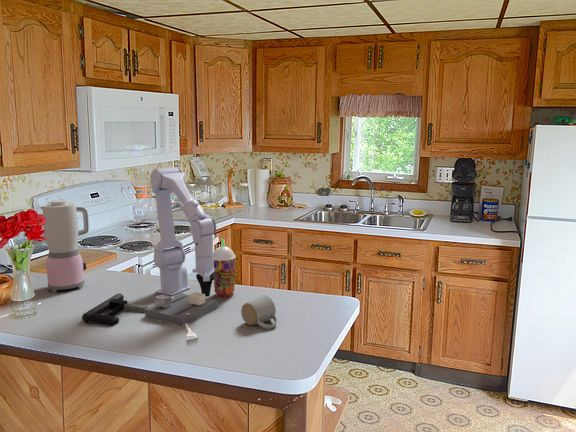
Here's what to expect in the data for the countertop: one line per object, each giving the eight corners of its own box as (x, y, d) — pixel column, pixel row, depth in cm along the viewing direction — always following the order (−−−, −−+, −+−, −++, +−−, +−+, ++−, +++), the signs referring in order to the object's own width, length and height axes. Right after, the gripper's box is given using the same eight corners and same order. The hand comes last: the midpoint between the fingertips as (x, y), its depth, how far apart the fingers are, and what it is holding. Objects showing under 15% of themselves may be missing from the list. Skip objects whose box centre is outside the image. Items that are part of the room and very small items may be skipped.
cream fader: (195, 300, 167) (195, 292, 166) (205, 302, 165) (205, 294, 164) (189, 303, 164) (189, 294, 163) (199, 305, 162) (199, 296, 162)
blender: (51, 295, 181) (42, 205, 175) (44, 286, 191) (36, 200, 185) (97, 286, 190) (90, 200, 184) (89, 278, 200) (82, 196, 194)
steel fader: (161, 302, 164) (161, 294, 164) (171, 305, 163) (170, 296, 162) (154, 305, 162) (154, 297, 161) (164, 308, 160) (164, 299, 159)
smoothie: (221, 300, 175) (219, 242, 171) (207, 294, 181) (205, 238, 177) (241, 294, 180) (240, 238, 176) (227, 289, 186) (226, 234, 182)
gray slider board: (181, 300, 175) (181, 292, 175) (217, 307, 168) (217, 300, 167) (145, 316, 161) (144, 309, 160) (182, 326, 153) (181, 317, 153)
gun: (157, 298, 171) (113, 291, 175) (124, 321, 152) (76, 313, 156) (157, 307, 172) (113, 301, 176) (124, 331, 153) (76, 323, 156)
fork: (188, 318, 161) (187, 313, 161) (200, 343, 143) (199, 336, 142) (177, 320, 160) (177, 314, 160) (188, 345, 142) (187, 338, 141)
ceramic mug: (239, 322, 156) (239, 298, 154) (259, 315, 161) (259, 291, 160) (263, 333, 148) (263, 308, 147) (283, 325, 154) (283, 300, 152)
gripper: (190, 250, 171) (192, 289, 174) (192, 262, 157) (194, 304, 160) (212, 249, 173) (213, 288, 175) (215, 260, 159) (217, 302, 161)
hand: (205, 296), depth 168 cm, fingers closed
